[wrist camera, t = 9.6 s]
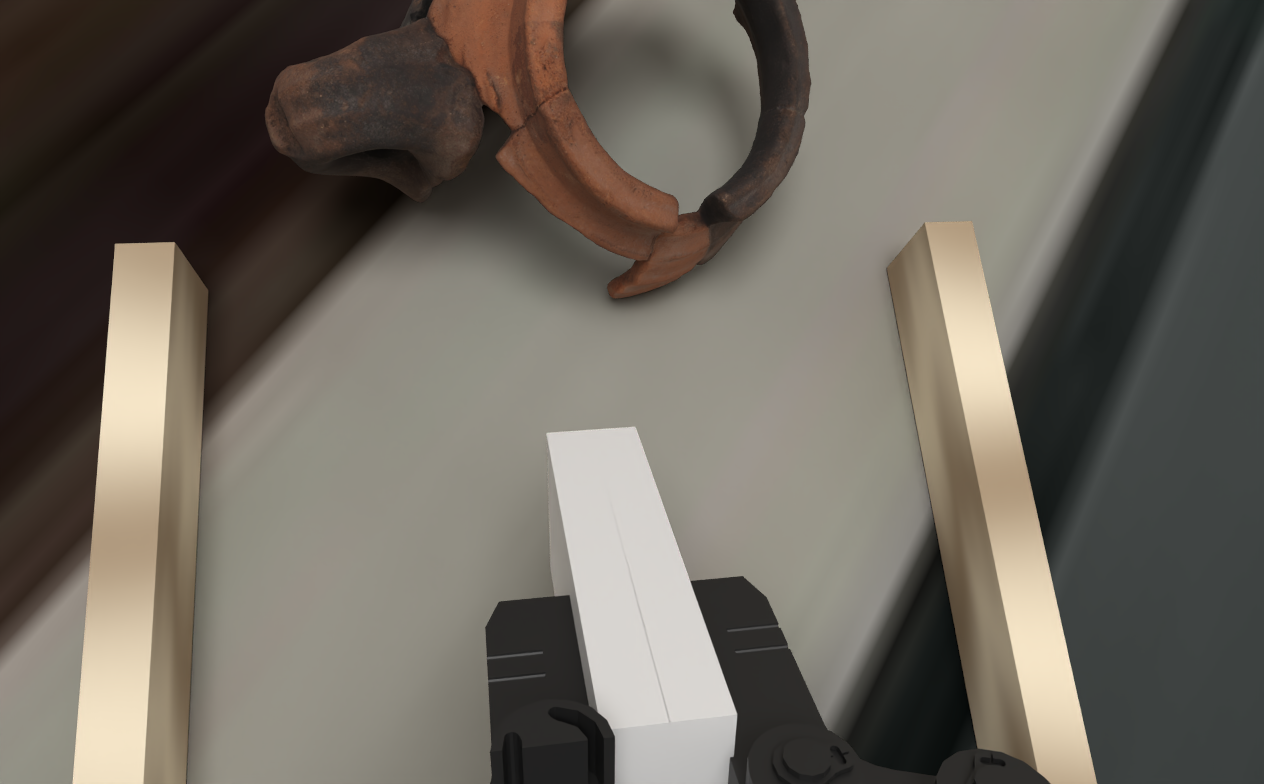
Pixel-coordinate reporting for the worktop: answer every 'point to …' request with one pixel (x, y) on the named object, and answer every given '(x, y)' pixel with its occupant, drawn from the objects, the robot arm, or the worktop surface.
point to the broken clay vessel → (529, 124)
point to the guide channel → (950, 444)
